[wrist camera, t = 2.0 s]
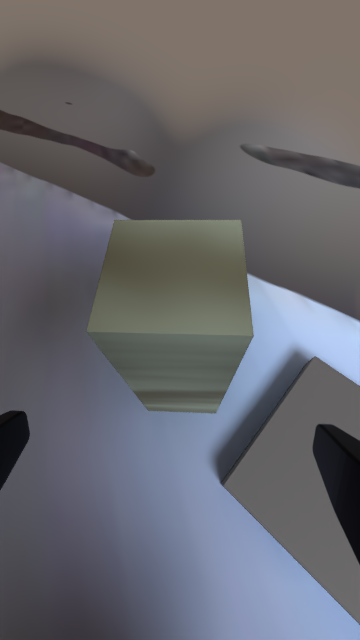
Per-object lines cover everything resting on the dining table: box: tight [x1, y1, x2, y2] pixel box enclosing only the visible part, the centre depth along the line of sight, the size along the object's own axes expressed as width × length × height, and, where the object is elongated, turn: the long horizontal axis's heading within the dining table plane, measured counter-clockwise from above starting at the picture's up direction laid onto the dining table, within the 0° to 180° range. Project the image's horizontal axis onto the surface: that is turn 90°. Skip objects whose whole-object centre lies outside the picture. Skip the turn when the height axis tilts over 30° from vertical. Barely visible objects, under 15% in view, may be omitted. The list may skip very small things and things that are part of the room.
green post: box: [86, 220, 254, 413], centre depth 14 cm, size 5×5×13 cm
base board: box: [221, 356, 360, 624], centre depth 16 cm, size 11×11×2 cm
